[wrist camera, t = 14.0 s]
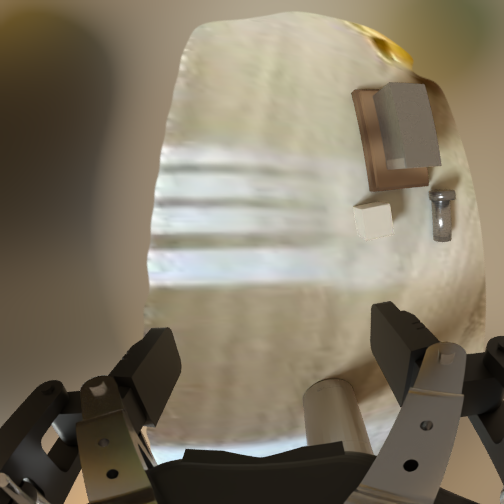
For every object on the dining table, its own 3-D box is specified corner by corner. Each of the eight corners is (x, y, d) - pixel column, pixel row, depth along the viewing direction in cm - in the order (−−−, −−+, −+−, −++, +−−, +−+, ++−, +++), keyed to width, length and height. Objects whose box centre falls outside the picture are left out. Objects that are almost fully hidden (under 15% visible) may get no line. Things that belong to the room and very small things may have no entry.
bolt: (447, 235, 36) (462, 241, 32) (426, 239, 37) (440, 245, 33) (445, 188, 35) (460, 190, 31) (423, 191, 35) (438, 192, 31)
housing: (404, 96, 30) (424, 84, 24) (418, 167, 32) (441, 166, 26) (372, 95, 30) (388, 82, 25) (386, 169, 33) (406, 168, 27)
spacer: (383, 229, 37) (394, 234, 33) (357, 235, 38) (366, 241, 34) (378, 201, 36) (389, 203, 32) (352, 206, 37) (361, 209, 33)
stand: (423, 185, 35) (432, 186, 32) (369, 191, 36) (376, 192, 33) (406, 92, 32) (413, 88, 29) (351, 93, 33) (356, 87, 30)
